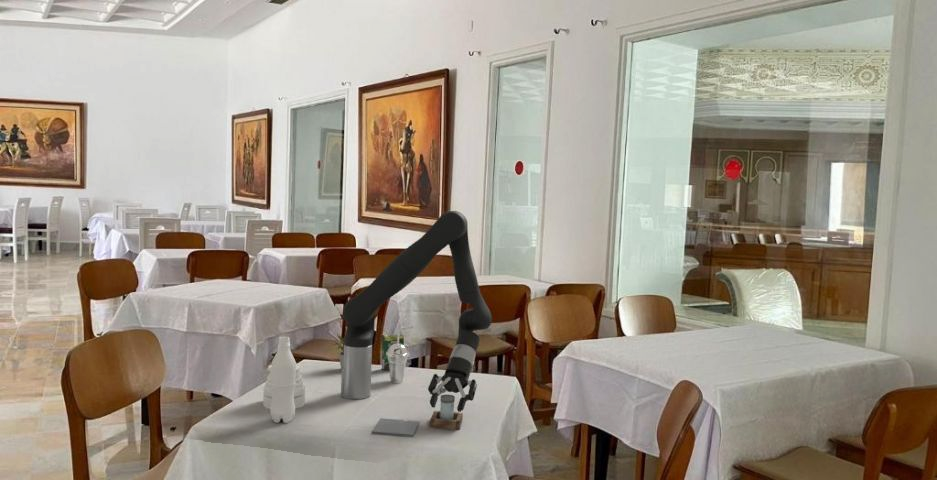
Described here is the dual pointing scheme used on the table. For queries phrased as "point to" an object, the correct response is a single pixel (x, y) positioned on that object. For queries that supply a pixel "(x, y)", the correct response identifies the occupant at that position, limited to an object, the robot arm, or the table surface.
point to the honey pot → (298, 392)
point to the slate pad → (396, 427)
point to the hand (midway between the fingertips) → (445, 408)
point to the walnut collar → (446, 421)
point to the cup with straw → (397, 359)
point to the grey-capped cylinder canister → (447, 407)
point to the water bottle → (283, 383)
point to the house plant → (341, 349)
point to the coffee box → (386, 344)
